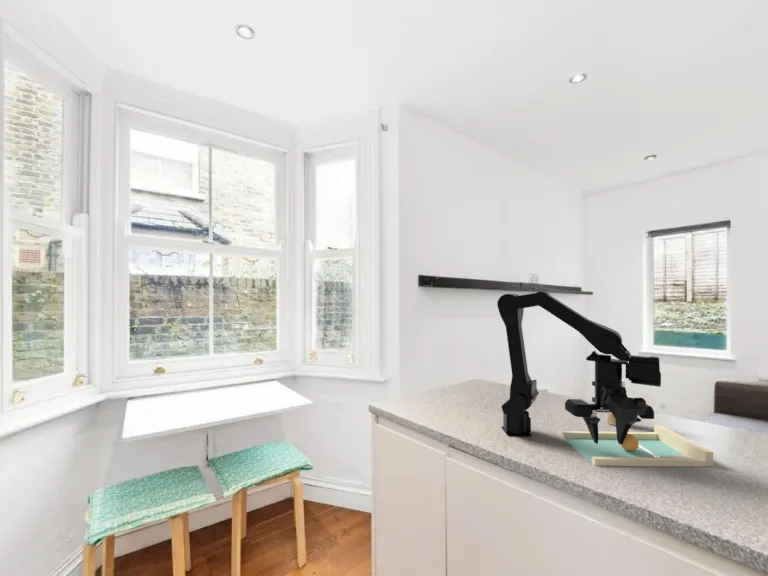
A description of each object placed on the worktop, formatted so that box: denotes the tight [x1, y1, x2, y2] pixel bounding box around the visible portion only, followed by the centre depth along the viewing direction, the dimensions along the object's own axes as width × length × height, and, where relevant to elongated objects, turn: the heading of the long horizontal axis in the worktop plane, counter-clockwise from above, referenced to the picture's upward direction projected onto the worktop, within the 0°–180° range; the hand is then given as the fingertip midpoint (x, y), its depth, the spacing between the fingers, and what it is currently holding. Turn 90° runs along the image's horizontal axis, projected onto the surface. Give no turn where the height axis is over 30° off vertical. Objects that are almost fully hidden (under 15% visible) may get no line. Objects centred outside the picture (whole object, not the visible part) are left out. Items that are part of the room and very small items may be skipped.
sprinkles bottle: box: [606, 379, 626, 427], centre depth 106 cm, size 5×5×14 cm
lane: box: [561, 424, 714, 467], centre depth 87 cm, size 26×16×4 cm, turn 88°
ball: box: [620, 434, 639, 451], centre depth 87 cm, size 4×4×4 cm
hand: (608, 443), depth 87 cm, fingers open, 6 cm apart
